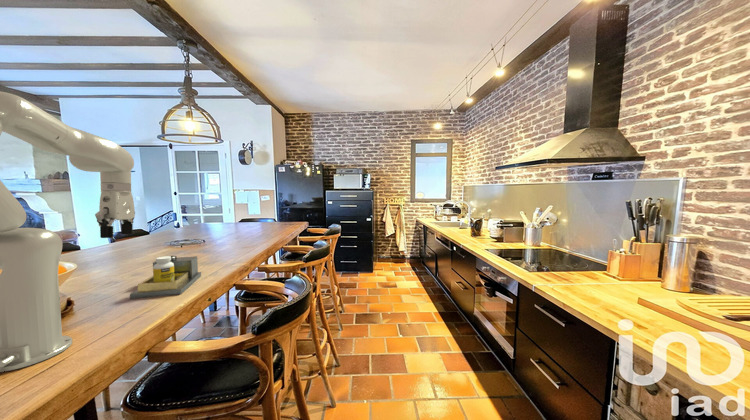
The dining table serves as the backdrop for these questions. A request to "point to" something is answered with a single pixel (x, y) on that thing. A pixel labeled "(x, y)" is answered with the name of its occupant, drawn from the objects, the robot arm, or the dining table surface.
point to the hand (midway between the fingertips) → (117, 235)
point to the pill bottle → (163, 269)
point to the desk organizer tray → (183, 279)
